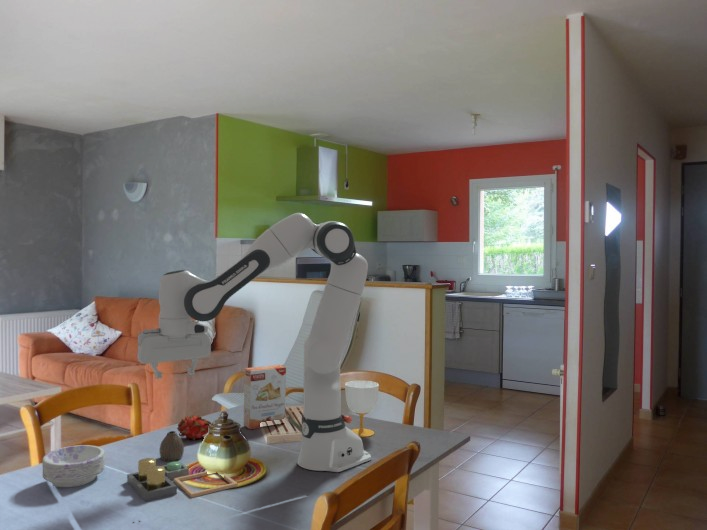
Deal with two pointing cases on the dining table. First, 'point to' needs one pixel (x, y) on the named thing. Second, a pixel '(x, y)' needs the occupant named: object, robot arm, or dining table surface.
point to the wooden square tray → (207, 491)
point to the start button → (173, 466)
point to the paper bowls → (73, 465)
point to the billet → (155, 477)
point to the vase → (171, 447)
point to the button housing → (177, 472)
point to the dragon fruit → (193, 427)
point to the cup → (361, 401)
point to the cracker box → (264, 395)
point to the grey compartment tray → (152, 494)
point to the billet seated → (145, 468)
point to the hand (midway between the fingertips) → (174, 376)
